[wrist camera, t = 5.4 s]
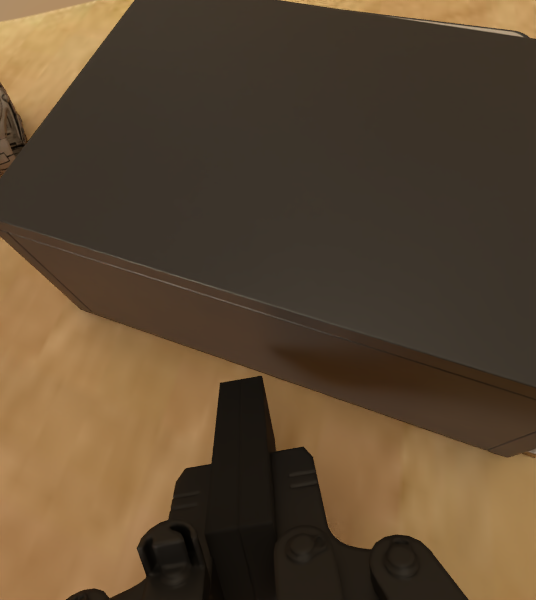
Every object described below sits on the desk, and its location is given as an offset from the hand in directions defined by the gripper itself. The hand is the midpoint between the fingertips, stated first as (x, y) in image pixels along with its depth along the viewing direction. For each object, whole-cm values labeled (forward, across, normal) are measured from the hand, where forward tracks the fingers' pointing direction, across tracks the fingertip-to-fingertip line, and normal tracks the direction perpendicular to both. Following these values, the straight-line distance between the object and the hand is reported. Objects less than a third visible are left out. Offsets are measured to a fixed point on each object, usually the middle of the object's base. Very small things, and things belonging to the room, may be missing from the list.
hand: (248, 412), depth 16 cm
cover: (+8, +4, +3) cm, 10 cm away
